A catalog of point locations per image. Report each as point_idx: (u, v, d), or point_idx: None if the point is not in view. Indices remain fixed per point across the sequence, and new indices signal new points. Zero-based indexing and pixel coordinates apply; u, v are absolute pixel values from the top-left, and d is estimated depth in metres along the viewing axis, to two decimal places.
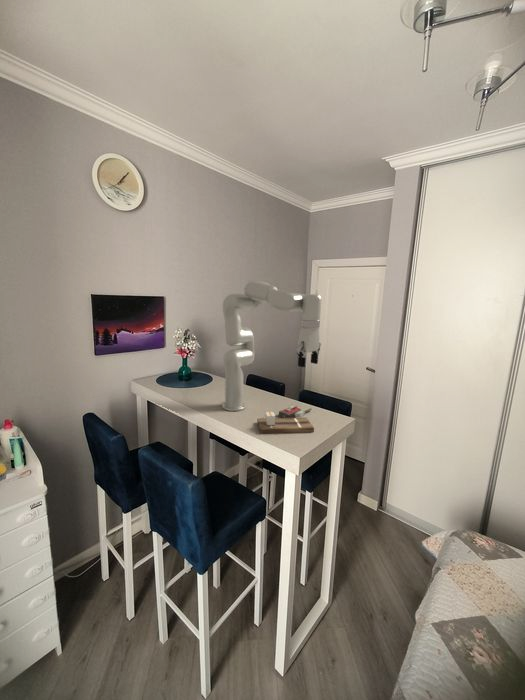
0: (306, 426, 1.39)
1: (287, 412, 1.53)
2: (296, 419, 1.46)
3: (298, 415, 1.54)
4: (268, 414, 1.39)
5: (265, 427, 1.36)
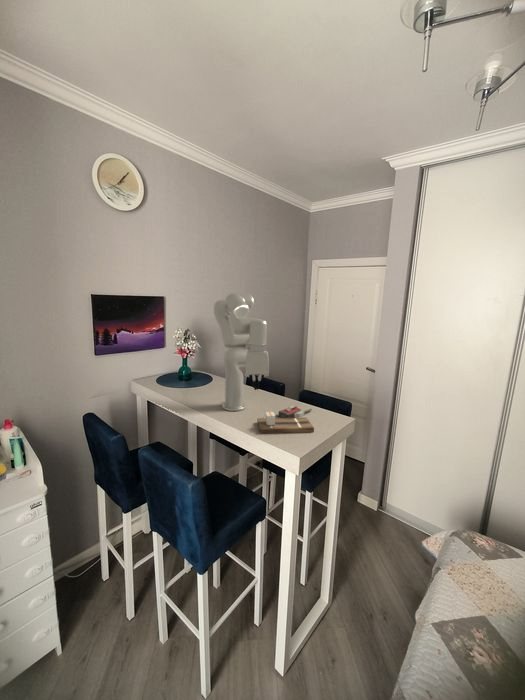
0: (306, 426, 1.39)
1: (286, 412, 1.53)
2: (296, 419, 1.46)
3: (298, 415, 1.54)
4: (268, 414, 1.39)
5: (265, 427, 1.36)
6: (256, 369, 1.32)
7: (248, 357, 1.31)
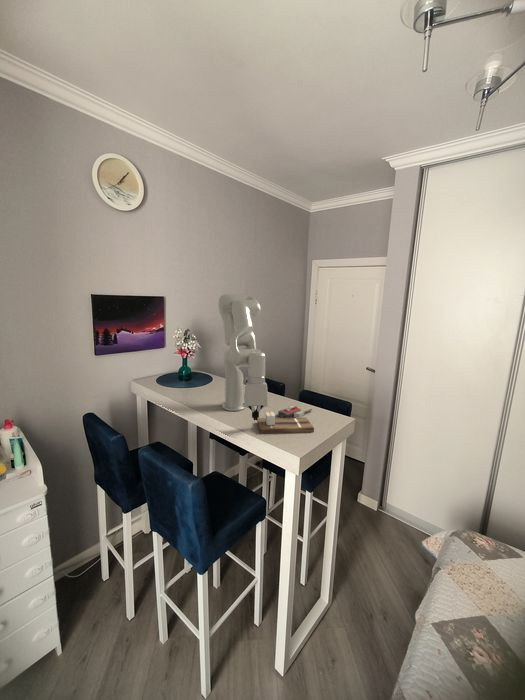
0: (306, 426, 1.39)
1: (286, 412, 1.53)
2: (296, 419, 1.46)
3: (297, 415, 1.54)
4: (268, 414, 1.39)
5: (265, 427, 1.36)
6: (255, 401, 1.34)
7: (247, 389, 1.33)
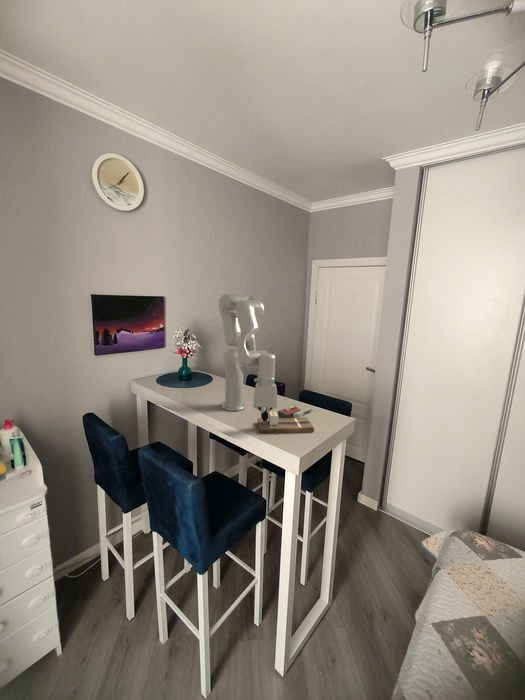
0: (306, 426, 1.39)
1: (285, 412, 1.53)
2: (296, 419, 1.46)
3: (297, 415, 1.54)
4: (271, 414, 1.39)
5: (265, 427, 1.36)
6: (264, 402, 1.35)
7: (257, 390, 1.34)
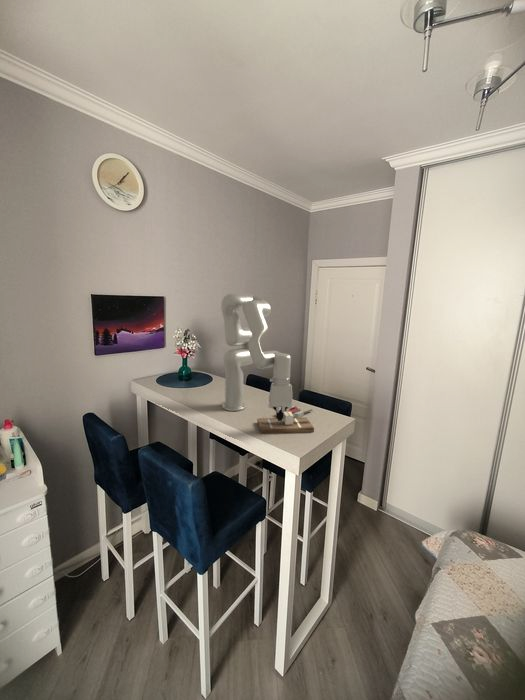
0: (306, 426, 1.39)
1: None
2: (296, 419, 1.46)
3: (296, 415, 1.54)
4: (286, 414, 1.40)
5: (265, 427, 1.36)
6: (280, 402, 1.36)
7: (273, 390, 1.35)
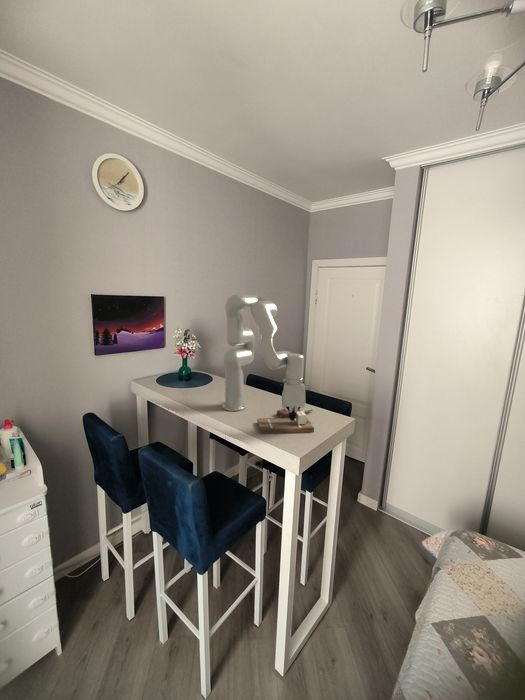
0: (306, 426, 1.39)
1: (284, 411, 1.53)
2: None
3: None
4: (299, 413, 1.41)
5: (265, 427, 1.36)
6: (293, 402, 1.37)
7: (286, 390, 1.36)
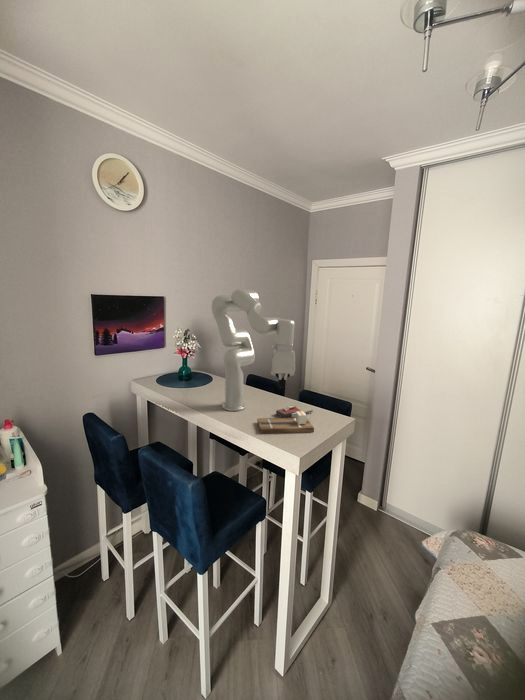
0: (306, 426, 1.39)
1: (283, 411, 1.54)
2: None
3: (295, 415, 1.54)
4: (299, 413, 1.41)
5: (265, 427, 1.36)
6: (283, 369, 1.34)
7: (275, 356, 1.33)
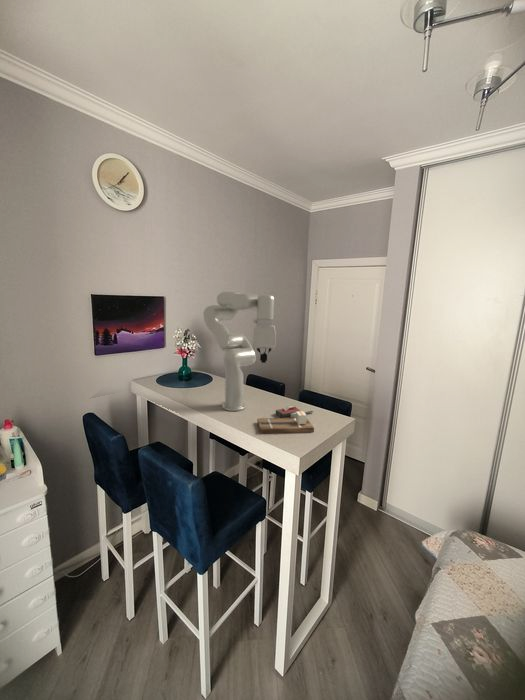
0: (306, 426, 1.39)
1: (283, 411, 1.54)
2: None
3: (294, 415, 1.54)
4: (299, 413, 1.41)
5: (265, 427, 1.36)
6: (263, 343, 1.38)
7: (256, 331, 1.37)
